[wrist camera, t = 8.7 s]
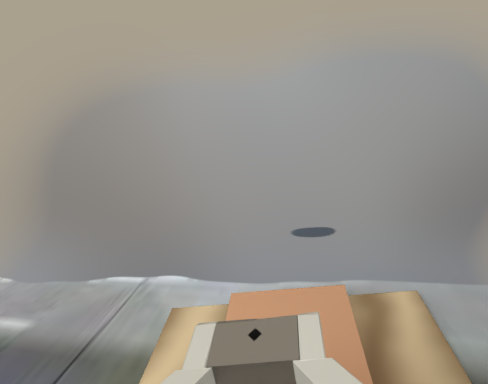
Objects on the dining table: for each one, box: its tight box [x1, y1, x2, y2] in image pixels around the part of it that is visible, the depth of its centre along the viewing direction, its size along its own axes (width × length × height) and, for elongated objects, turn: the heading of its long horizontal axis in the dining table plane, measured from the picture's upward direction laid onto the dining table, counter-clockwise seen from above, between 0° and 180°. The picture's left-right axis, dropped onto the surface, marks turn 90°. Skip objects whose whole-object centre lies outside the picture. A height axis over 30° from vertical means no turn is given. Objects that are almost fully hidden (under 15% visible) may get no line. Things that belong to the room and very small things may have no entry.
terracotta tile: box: [226, 285, 373, 384], centre depth 30 cm, size 10×3×13 cm
